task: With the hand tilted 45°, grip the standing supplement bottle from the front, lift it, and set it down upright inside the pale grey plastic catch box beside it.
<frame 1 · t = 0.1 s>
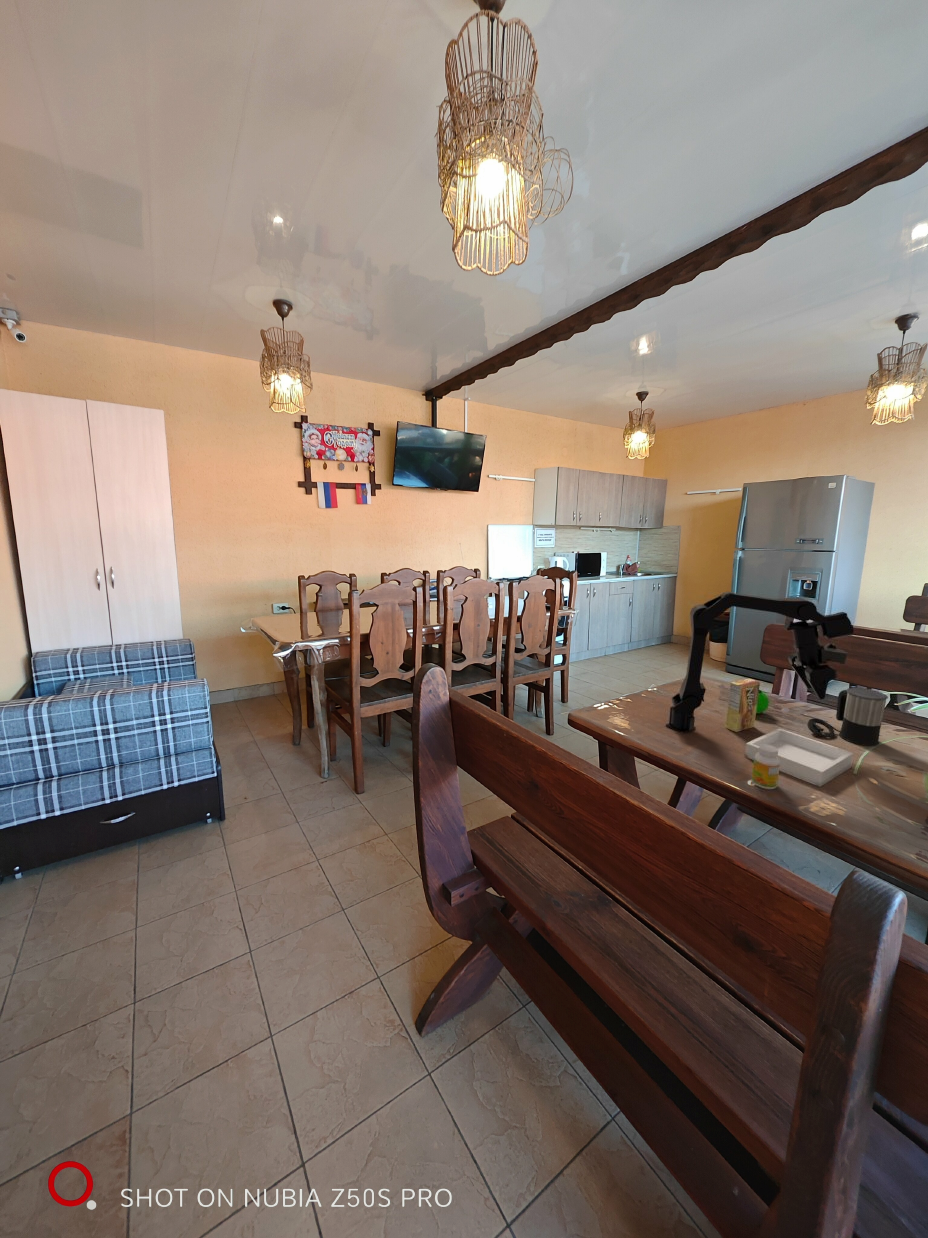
hand: (815, 693, 132), 15 cm above the table, tool pointing down, fingers open, 9 cm apart
milk frother: (841, 737, 138), on the table
supplement bottle: (763, 784, 114), on the table
ornament: (753, 713, 157), on the table
catch box: (796, 761, 124), on the table
candy box: (739, 728, 146), on the table
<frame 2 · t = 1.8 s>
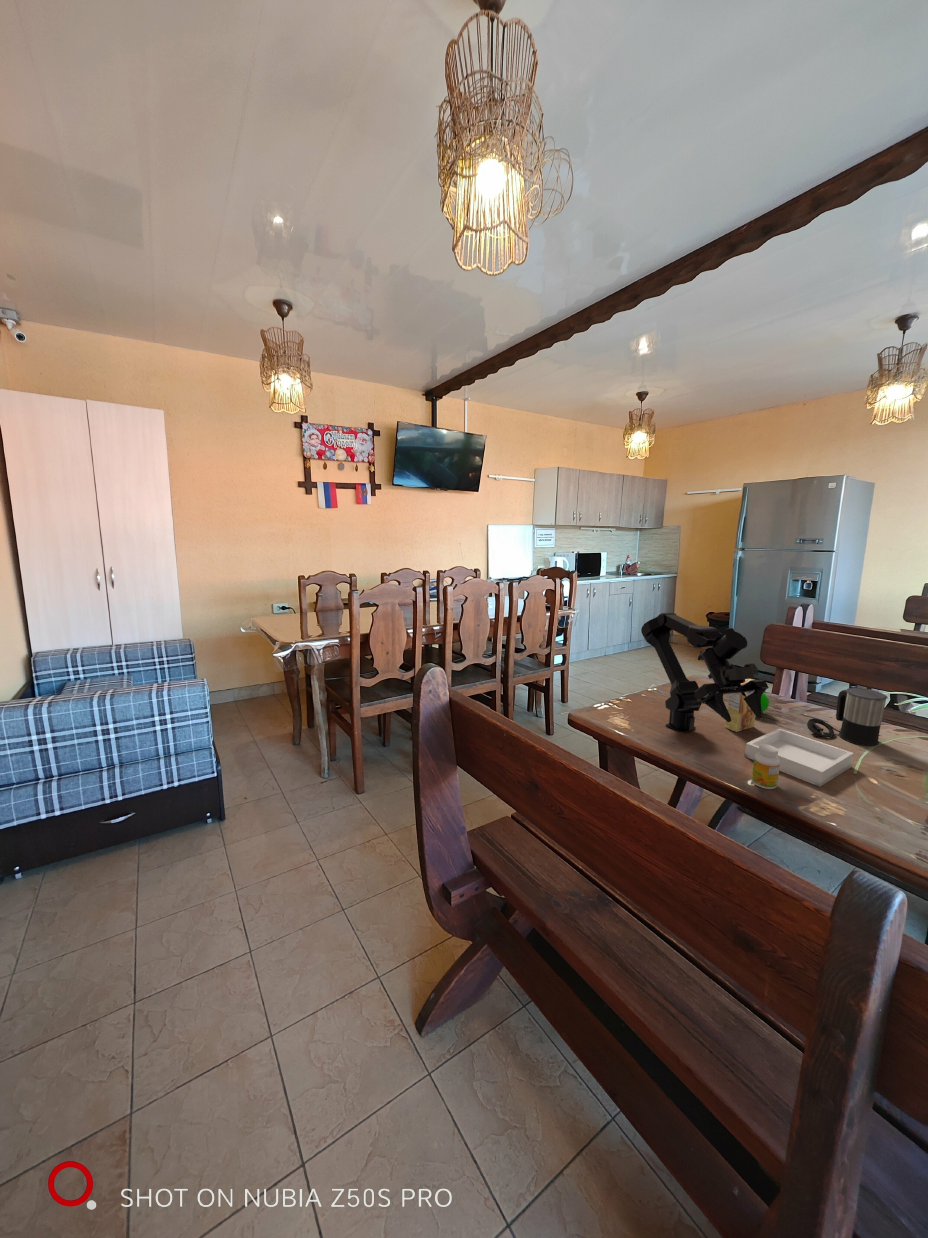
hand: (745, 720, 119), 13 cm above the table, tool tilted 45°, fingers open, 9 cm apart
nothing on the table moved.
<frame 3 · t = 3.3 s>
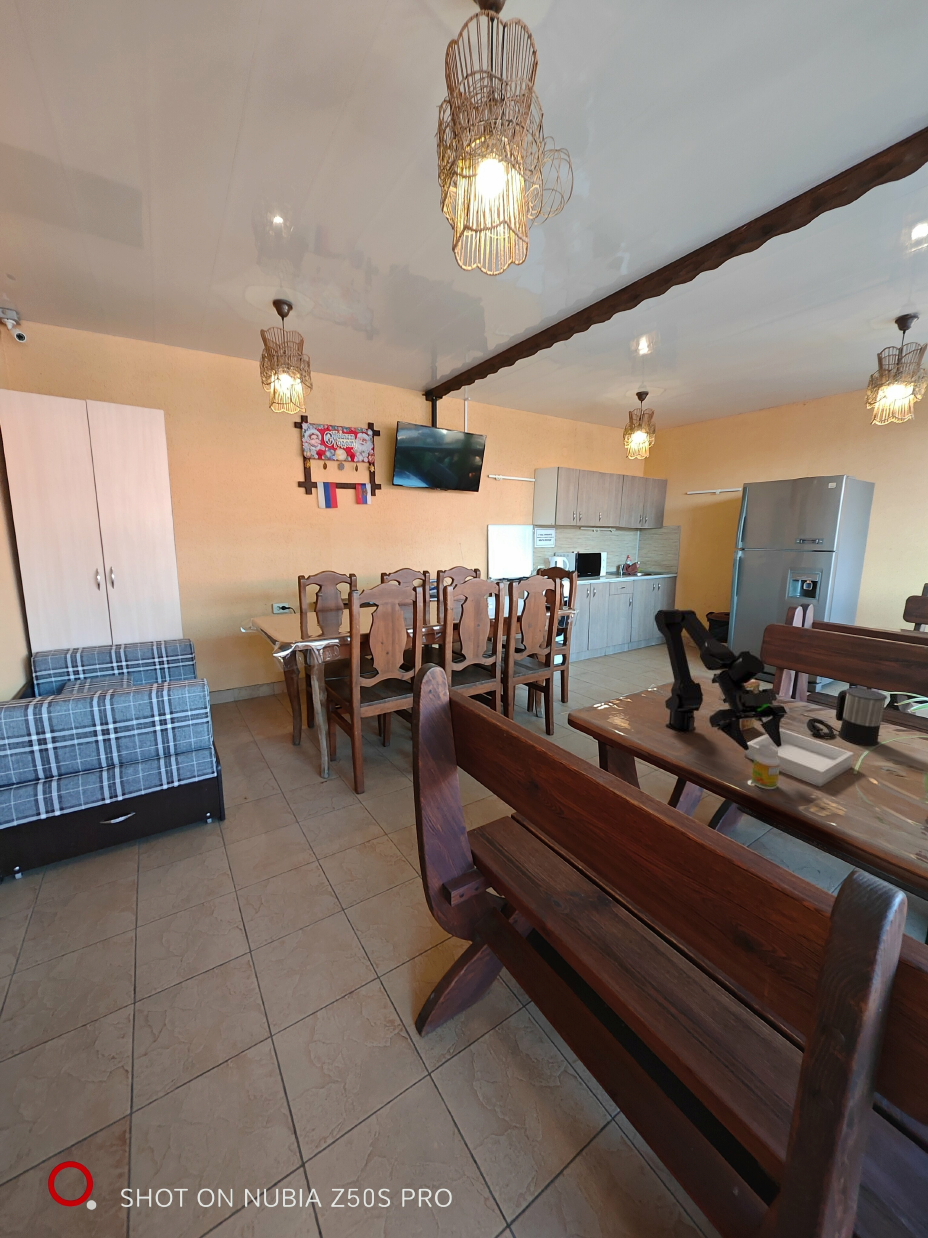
hand: (763, 748, 113), 9 cm above the table, tool tilted 45°, fingers open, 9 cm apart
nothing on the table moved.
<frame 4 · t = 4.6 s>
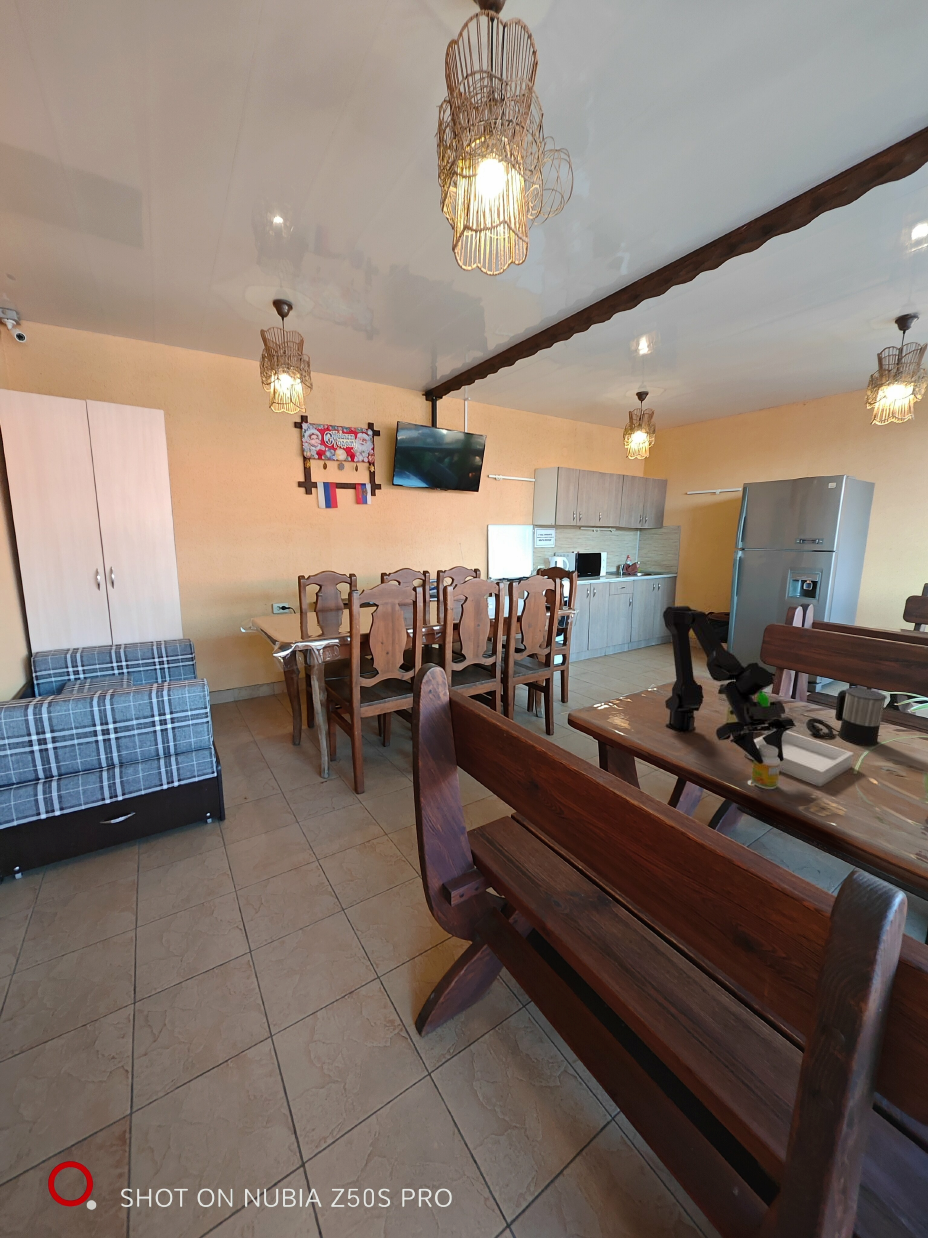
hand: (771, 762, 111), 7 cm above the table, tool tilted 45°, fingers closed on supplement bottle, 5 cm apart
supplement bottle: (763, 784, 114), on the table, touching gripper
everything else where it was.
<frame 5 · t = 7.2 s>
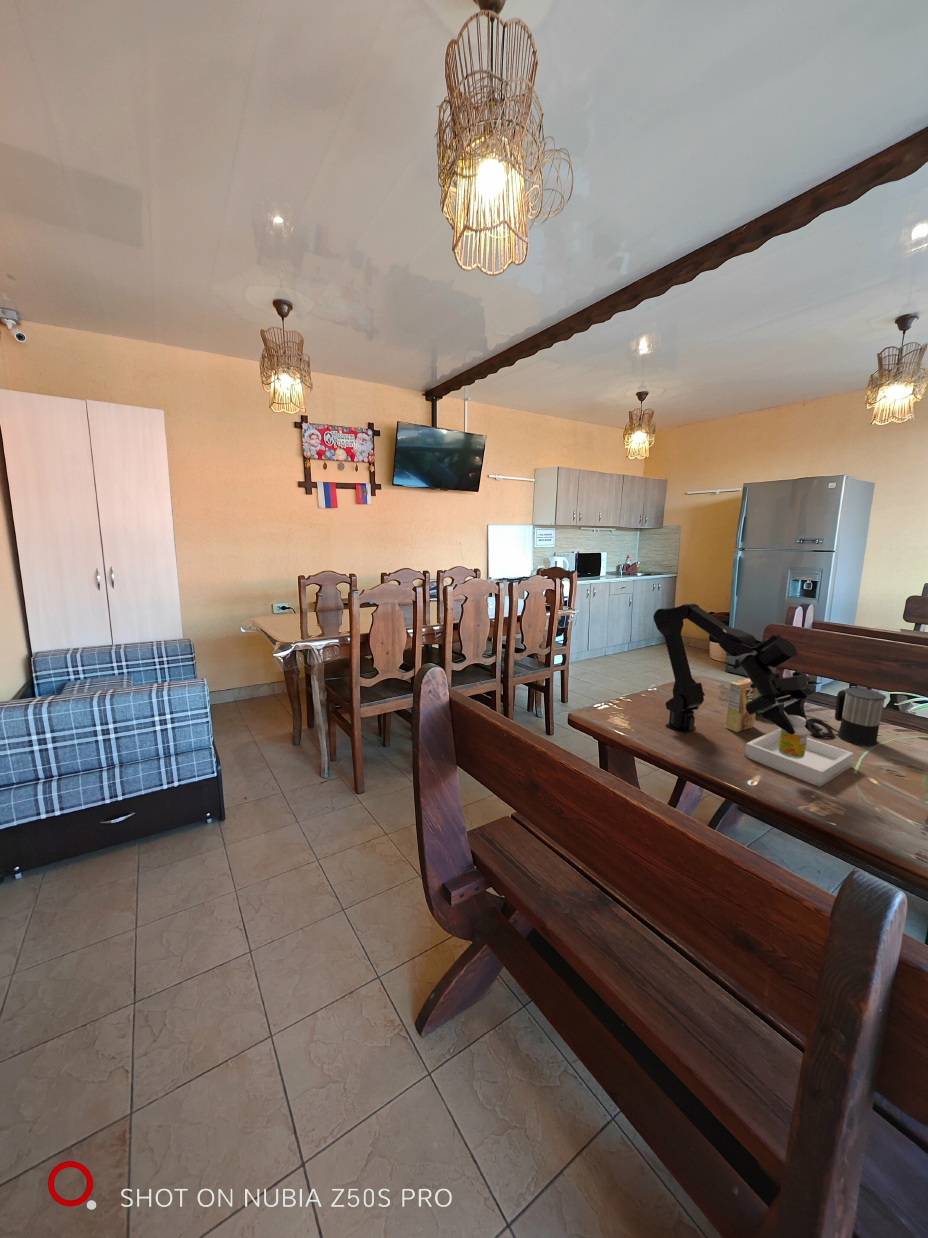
hand: (800, 731, 112), 13 cm above the table, tool tilted 45°, fingers closed on supplement bottle, 5 cm apart
supplement bottle: (790, 754, 115), point 6 cm above the table, touching gripper
everything else where it was.
when the fingers open (9 cm above the table, at t = 9.7 s): supplement bottle drops 1 cm, resting on catch box.
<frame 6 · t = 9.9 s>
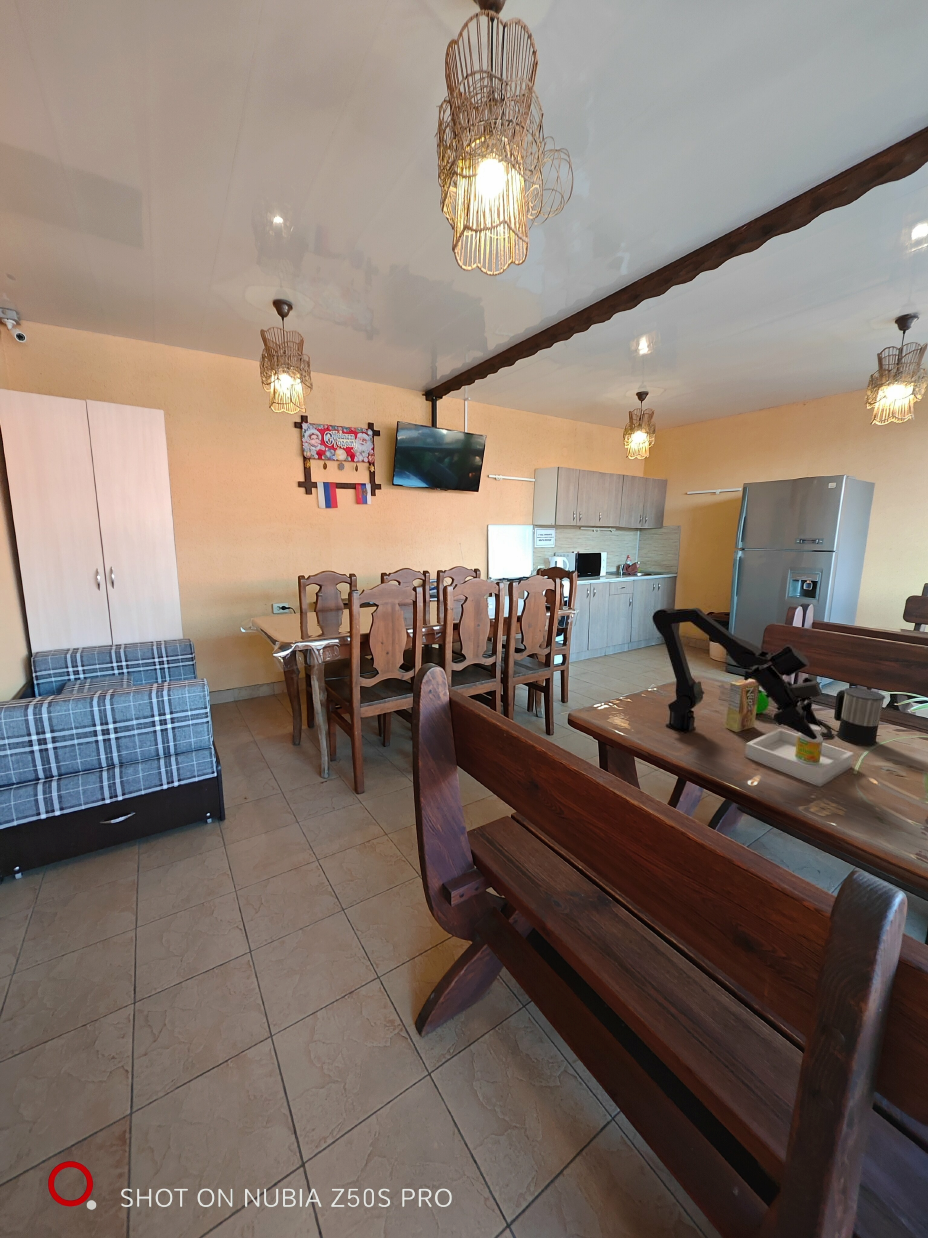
hand: (817, 734, 120), 9 cm above the table, tool tilted 45°, fingers open, 7 cm apart
supplement bottle: (806, 760, 123), point 1 cm above the table, touching catch box
everything else where it was.
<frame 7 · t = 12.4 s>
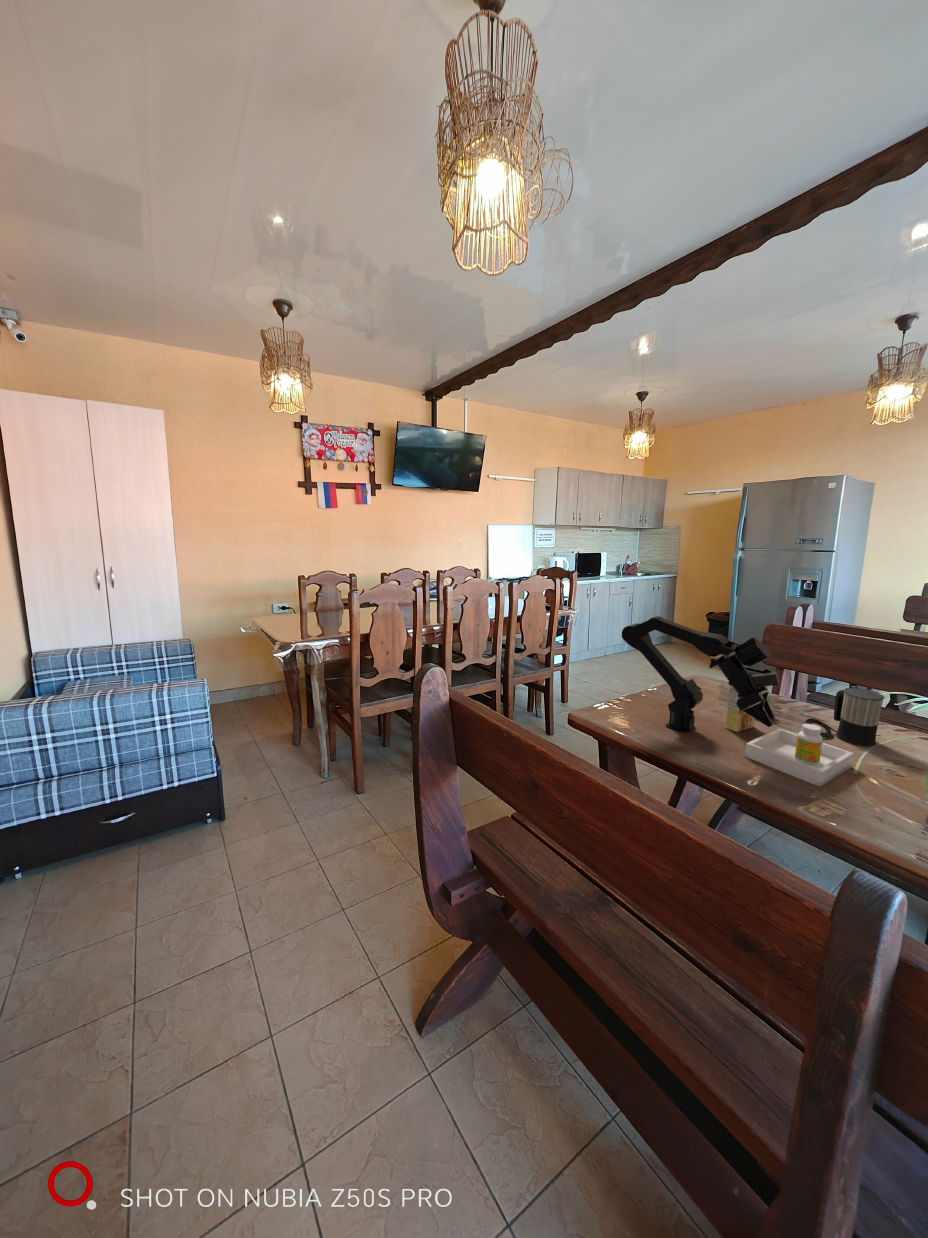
hand: (772, 722, 127), 9 cm above the table, tool tilted 40°, fingers open, 9 cm apart
nothing on the table moved.
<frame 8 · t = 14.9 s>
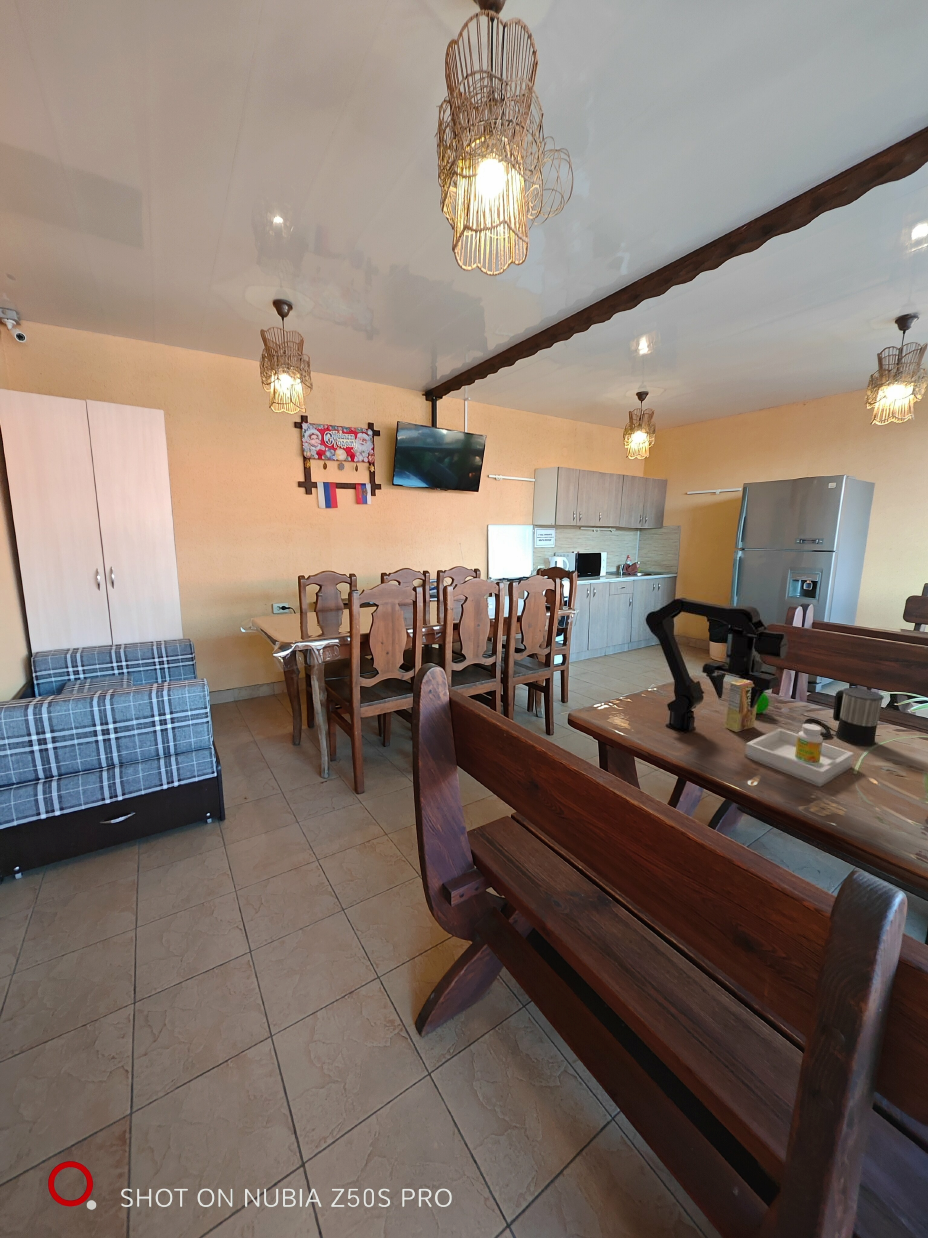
hand: (735, 703, 132), 13 cm above the table, tool pointing down, fingers open, 9 cm apart
at the end: supplement bottle inside the target area on the catch box (2.1 cm from its centre), point 0.8 cm above the catch box's base; supplement bottle tilted 0°; the gripper is holding nothing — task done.
